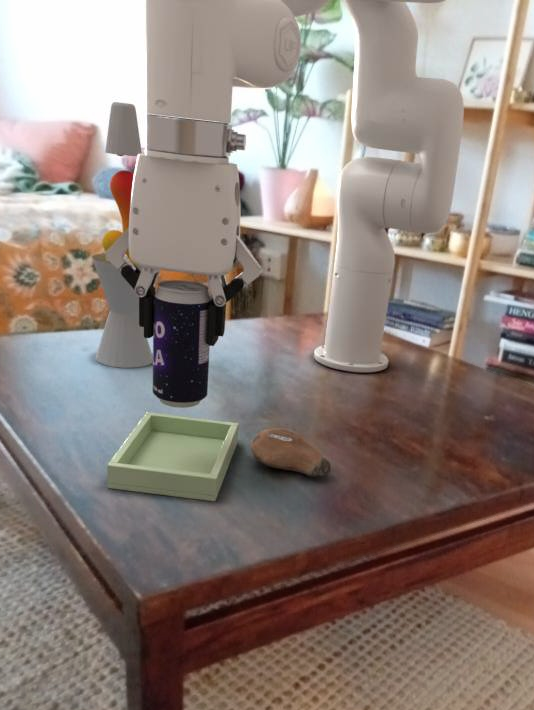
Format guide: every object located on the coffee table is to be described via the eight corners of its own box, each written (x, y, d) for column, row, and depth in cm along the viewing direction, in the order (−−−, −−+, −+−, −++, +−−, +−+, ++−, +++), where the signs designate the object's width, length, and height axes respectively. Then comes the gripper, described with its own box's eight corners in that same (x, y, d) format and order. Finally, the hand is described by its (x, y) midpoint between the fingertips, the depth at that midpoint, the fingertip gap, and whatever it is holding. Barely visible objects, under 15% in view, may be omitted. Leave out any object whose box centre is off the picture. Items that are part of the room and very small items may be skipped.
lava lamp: (132, 347, 114) (132, 104, 99) (166, 362, 109) (171, 108, 93) (82, 354, 108) (74, 97, 92) (115, 371, 103) (112, 101, 87)
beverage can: (179, 387, 78) (182, 277, 72) (218, 401, 75) (224, 288, 70) (141, 399, 74) (141, 282, 68) (180, 414, 71) (184, 294, 65)
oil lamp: (265, 493, 75) (333, 488, 78) (270, 462, 73) (340, 458, 76) (242, 449, 82) (305, 446, 85) (246, 419, 80) (311, 417, 83)
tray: (146, 432, 84) (146, 411, 83) (237, 443, 84) (238, 423, 83) (107, 488, 71) (107, 465, 70) (215, 501, 71) (216, 478, 70)
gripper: (285, 152, 66) (269, 339, 74) (106, 131, 67) (109, 320, 75) (278, 154, 60) (261, 359, 68) (79, 131, 60) (85, 338, 68)
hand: (181, 336), depth 71 cm, fingers closed on beverage can, 5 cm apart
